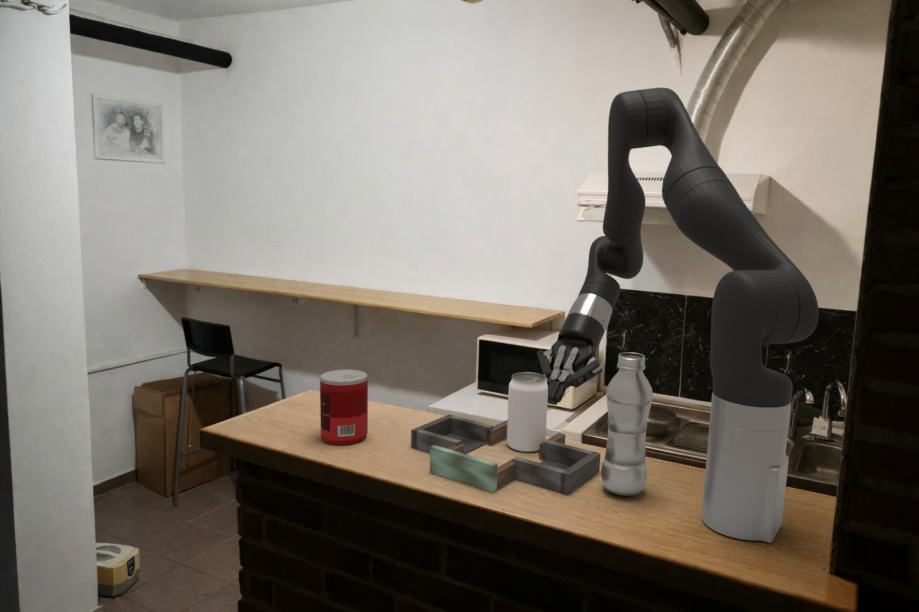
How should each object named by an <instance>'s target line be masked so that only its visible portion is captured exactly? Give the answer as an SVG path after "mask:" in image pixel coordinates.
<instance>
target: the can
mask: <svg viewBox="0 0 919 612" xmlns="http://www.w3.org/2000/svg"><path fill="white" fill-rule="evenodd" d="M546 380H547V379H546V377H545V375H544V374H541V373H537V372H531V371H530V372H529V371H526V372H525V371H524V372H516V373H513V374H512V375H511V380H510V382H509V383H508V395H507V399H508V400H507V419H506V420H507V438H506V445H507V446H508V447H509V448H510V449H511V450H514V451H516V452H519V453H536V452H537V453H538V452H539V447H540V443H542V442H543V441H545V440H547V439H546V438H547V419H548V418H547V417H548V402H547V400H548V383H547V381H546Z"/></svg>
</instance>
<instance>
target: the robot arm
mask: <svg viewBox="0 0 919 612" xmlns="http://www.w3.org/2000/svg"><path fill="white" fill-rule="evenodd" d="M608 113H609V114H608V123H607V125H608V126H607V196H606V197H607V198H606V203H605V208H604V216H603V223H602V233H603V234H604V235H601V236H598V237H597V238H596V239H595V240H593V241H592V243H591V245H590V247H589V253H588V262H587V263H588V264H587V270H586V275H585V279H584V282H583V284H582V285H581V288H580V290H579V293H578V295H577V297H576V299H575V301H574V302H573V303H572V305H571V307H570V309H569V311H568V314H567V315H566V317H565V319H564V322H563V323H562V327H561V328H560V330H559V332H558V336H557V340H556V341H555V342H554V343H552V345H551V348H550V349H548V350H545V351H544V350H542V349H539V350H538V351H537V352H536V356H537V357H538V361H539V364H540V367H541V370H542V373H543V374H542V375H544V376H545V377H546V379H545V380H547V382H548V384H547V386H548V400H547V404H548V405H549V404H550V405H553V406H557V405H558V403H561V402H562V401H563V398H564V396H565V393H566V391H567V389H569V388H570V387H574V388H575V389H576V388H579V387H580V386H582V385H584V384H585V383H587V382H588V381H590V380H591V379H593V378H594V377H596V376H598V375H599V374H601V373H602V372H603V367H602V365H601V363H600V360H598V359H596V358H597V357H596V352H597V350H598V348H599V346H600V344H601V342H602V340H603V337H604V334H605V332H606V331H607V329H608V325H609V324H610V320H611V317H612V313H613V311H614V308H615V306H616V302H617V301H618V298H619V296H620V294H621V285H620V283H619V282H618V280H616V279H615V278H614V277H612V276H615V277H617V278H620V279H624V280H631V279H633V278H635V277H637V276H638V274H639V273H640V272H641V270H642V268H643V264H644V248H643V242H642V234H641V233H642V232H641V229H642V224H643V220H644V216H645V210H646V194H645V192H644V189H643V187H642V185H641V183H640V181H639V180H638V178H637V177H636V175H635V173H634V171H633V170H632V167H631V165H630V160H629V159H630V153H631V150H633V149H634V150H635V149H643V148H649V147H650V148H652V147H658V146H659V147H660V146H661V147H665V148H666V149H667V150H668V151H669V153H670V155H671V157H670V161H669V163H668V166H667V168H666V172H665V174H664V176H663V180H662V186H661V197H662V202H663V203H664V205H665V207H666V209H667V211H668V213H669V214H670V216H671V219H672V220H673V222H674V223H675V225H676V226H677V228H678V229H679V231H680V232H681V233H682V234H683V235H684V236H685V237H686V238H687V239H688V240H690V241H691V242H692V243H693V244H695V245H696V246H697V247H699V248H700V249H702V250H703V251H705V252H707V253H708V254H710V255H712V256H713V257H714V258H716V259H718V260H719V261H721V262H722V263H723V264H725V265H727V266H728V267H729V268H730V269H732V271H729V272H727V273H725V274H724V275H723V276H721V278H720V280H719V281H718V282H717V285H716V287H715V290H714V295H713V298H712V305H711V319H710V320H711V321H710V322H711V324H710V326H711V327H710V328H711V329H710V351H709V352H710V353H709V360H710V361H709V363H710V364H709V365H710V371H711V376H712V393H711V405H710V416H709V427H708V438H707V439H708V440H707V447H706V448H707V449H706V462H705V472H704V473H705V474H704V484H703V485H704V486H703V497H702V503H701V505H702V509H701V520H702V521H703V522H702V523H704V524H705V525H706V526H707V527H708V528H710V529H711V530H713V531H714V532H716V533H719V534H720V535H724V536H727V537H730V538H733V539H734V538H735V539H739V540H744V541H746V540H747V541H760V542H761V541H762V542H765V543H769V544H771V543H773V541H774V539H775V538H776V536H777V534H778V532H779V531H780V529H781V528H782V526H783V525H782V524H783V515H784V514H783V513H784V507H785V499H786V497H785V496H786V490H787V489H786V488H787V480H788V468H789V456H788V455H786V454H787V445H788V436H789V434H788V433H789V427H790V426H789V425H790V418H791V406H792V399H793V390H794V389H793V381H792V380H791V378H790V377H789V376H787V375H786V374H784V373H782V372H779V371H777V370H774V369H771V368H768V367H766V366H765V365H764V363H763V360H762V355H763V354H762V351H763V350H762V345H782V344H784V345H785V344H791V343H797V342H800V341H803V340H806V339H807V338H809V337H810V336H811V335H812V334H813V333H814V332H815V330H816V328H817V326H818V322H819V318H820V317H819V314H820V311H819V302H818V299H817V296H816V293H815V291H814V289H813V287H812V285H811V283H810V281H809V280H808V279H807V277H806V276H805V275H804V273H802V271H801V270H800V268H798V267H797V266H796V264H795V263H794V262H793V261H792V260H791V259H790V258H789V257H788V255H786V253H785V252H784V251H782V249H781V248H780V247H779V246H778V244H776V242H774V240H773V239H772V237H770V236H769V234H768V233H767V232H766V230H765V229H764V228H763V227H762V225H761V223H760V222H759V221H758V219H756V217H755V215H753V213H752V212H751V210H750V209H749V207H748V206H747V204H746V203H745V202H744V201H743V200H744V199H742V197H741V195H740V194H739V193H738V191H737V189H736V187H735V186H734V184H733V183H732V181H731V180H730V179H729V177H728V176H727V174H726V173H725V172H724V170H723V169H722V168H721V167H720V165H719V163H717V161H716V160H715V158H714V157H713V155H712V154H711V152H710V151H709V149H708V148H707V146H706V144H705V143H704V141H703V140H702V138H701V136H700V135H699V133H698V131H697V128H696V127H695V125H694V123H693V121H692V119H691V116H690V115H689V113H688V111H687V109H686V106H685V105H684V102H683V101H682V100H681V97H680V96H679V95H678V93H676V92H675V91H674V90H673V89H671V88H668V87H653V88H651V87H650V88H643V89H636V90H628V91H627V90H626V91H624V92H620V93H618V94H617V95H615V96H614V98H613V100H612V101H611V104H610V109H609V112H608ZM552 358H553V361H554V364H553V370H552V369H551V368H552V367H551V366H550V364H551V362H552Z"/></svg>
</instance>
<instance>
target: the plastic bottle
mask: <svg viewBox="0 0 919 612" xmlns="http://www.w3.org/2000/svg"><path fill="white" fill-rule="evenodd" d="M616 366H617V367H616V368H617V369H618V372H616V374H615V375H614V376H612V379H611V380H610V382H608V385H607V387H606V405H607V407H606V409H607V438H606V439H607V440H606V447H605V454H604V457H603V460H602V464H601V465H602V466H601V469H600V475H601V483H602V485H603V486H604V488H605V490H607V491H608V492H609V493H613V494H615V495H619V496H635V495H636V496H637V495H639V494H640V493H641V492H642V491H643V490H644V489H645V487H646V484H647V481H648V466H647V465H648V464H647V461H646V437H647V436H646V435H647V432H646V431H647V428H648V420H649V417H650V416H649V415H650V410H651V405H652V401H653V395H654V393H653V388H652V386H651V384H650V381H649V380H648V378H647V377H646V376H645V373H644V372H643V371H644V370H645V371H646V356H645V355H644V354H642V353H639V352H630V351H629V352H621V353H619V354H618V361H617V364H616Z"/></svg>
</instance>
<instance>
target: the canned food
mask: <svg viewBox="0 0 919 612" xmlns="http://www.w3.org/2000/svg"><path fill="white" fill-rule="evenodd" d="M319 377H320V379H319V395H320V396H319V400H320V401H319V403H320V405H319V410H320V411H319V412H320V413H319V414H320V438H321V439H322V441H323V442H324V443H326V444H328V445H331V446H332V445H333V446H349V445H350V446H351V445H355V444H358V443H361V442H364V440H366V438H367V435H368V431H369V430H368V424H369V422H368V420H369V419H368V417H369V416H368V415H369V414H368V412H369V410H368V409H369V408H368V407H369V403H368V402H369V400H368V399H369V395H368V393H369V383H368V382H369V381H368V380H369V378H368V374H367V372H364V371H362V370H358V369H357V370H356V369H335V370H330V371H329V370H328V371H327V372H323V373H322V374H321V375H320V376H319Z"/></svg>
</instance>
